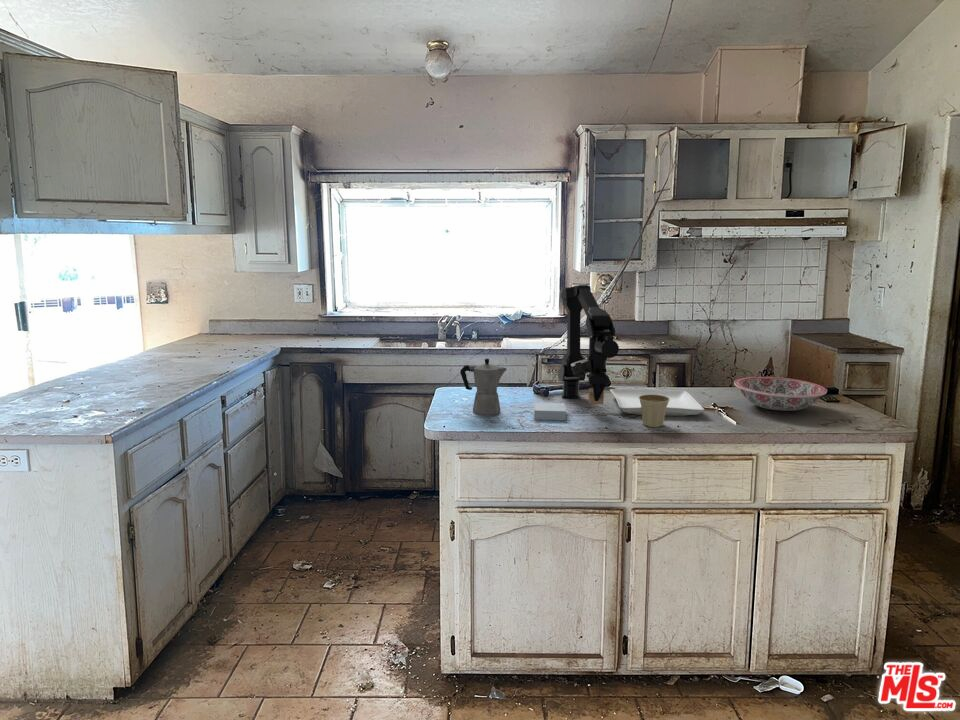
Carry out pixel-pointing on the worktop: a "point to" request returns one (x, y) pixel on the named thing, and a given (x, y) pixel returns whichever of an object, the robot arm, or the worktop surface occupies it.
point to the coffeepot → (485, 387)
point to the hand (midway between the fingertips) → (595, 399)
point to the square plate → (679, 400)
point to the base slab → (550, 411)
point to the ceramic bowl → (780, 392)
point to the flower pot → (653, 409)
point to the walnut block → (592, 400)
